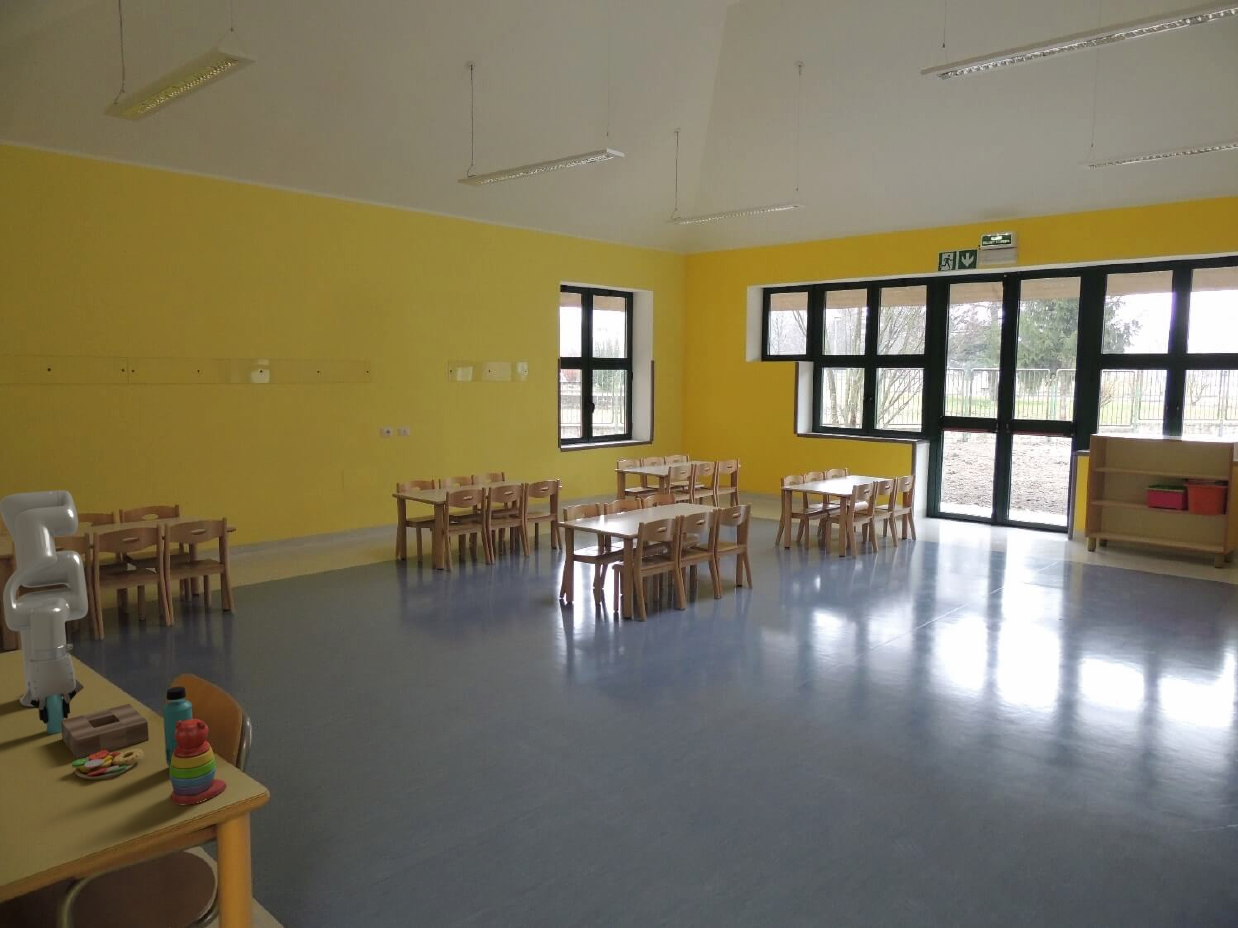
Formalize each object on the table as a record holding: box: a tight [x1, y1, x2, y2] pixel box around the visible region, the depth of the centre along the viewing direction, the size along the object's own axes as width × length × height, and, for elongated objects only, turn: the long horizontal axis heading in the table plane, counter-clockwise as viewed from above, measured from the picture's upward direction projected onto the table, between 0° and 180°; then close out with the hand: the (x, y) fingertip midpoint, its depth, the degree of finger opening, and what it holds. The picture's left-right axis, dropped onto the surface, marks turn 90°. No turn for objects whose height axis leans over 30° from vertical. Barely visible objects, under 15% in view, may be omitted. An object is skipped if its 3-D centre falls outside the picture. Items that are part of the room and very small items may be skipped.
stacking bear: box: [168, 718, 227, 805], centre depth 196 cm, size 11×10×18 cm
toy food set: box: [71, 748, 145, 781], centre depth 210 cm, size 13×13×3 cm
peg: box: [45, 694, 65, 735], centre depth 230 cm, size 4×4×12 cm
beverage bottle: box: [162, 686, 193, 768], centre depth 209 cm, size 6×7×20 cm
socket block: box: [61, 703, 150, 760], centre depth 225 cm, size 16×16×5 cm
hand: (55, 718), depth 230 cm, fingers closed on peg, 4 cm apart
